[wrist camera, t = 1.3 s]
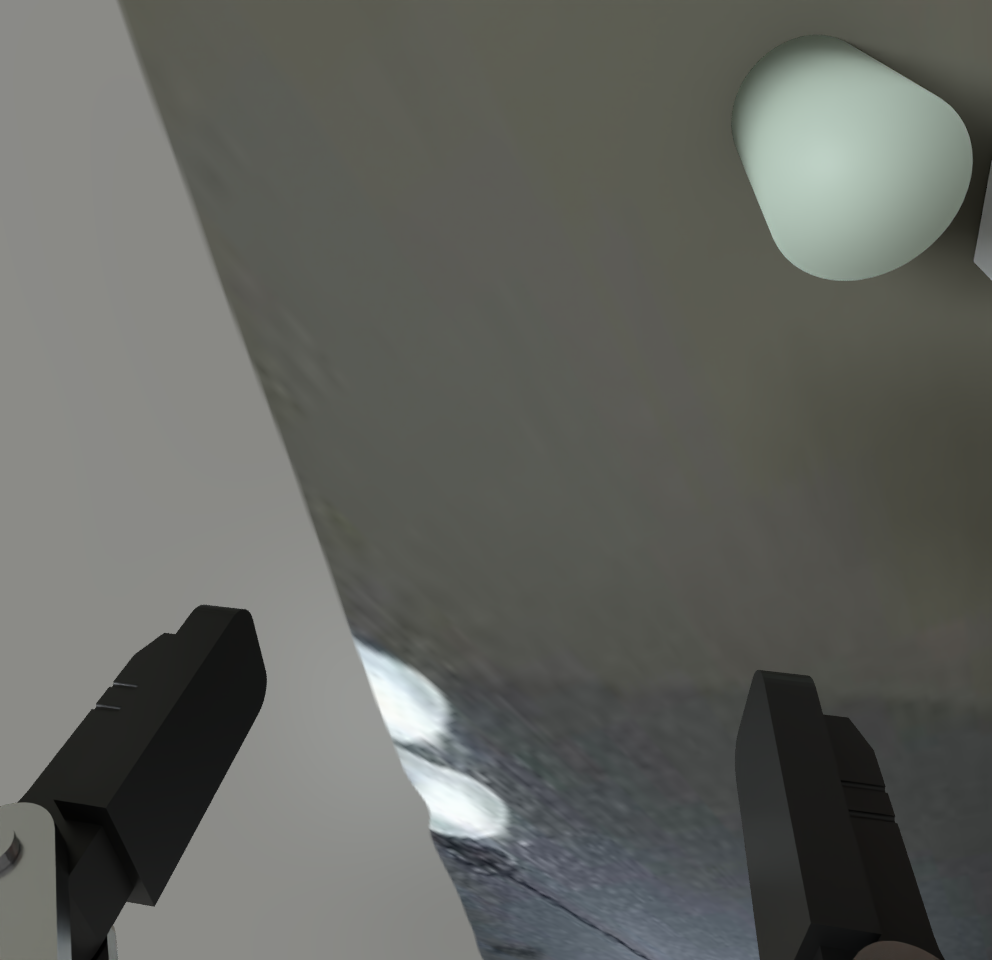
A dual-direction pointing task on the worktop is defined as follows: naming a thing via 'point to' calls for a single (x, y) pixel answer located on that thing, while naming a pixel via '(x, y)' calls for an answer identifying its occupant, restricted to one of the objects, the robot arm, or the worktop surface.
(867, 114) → the pale green rounded piece
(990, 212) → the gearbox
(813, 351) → the worktop surface
